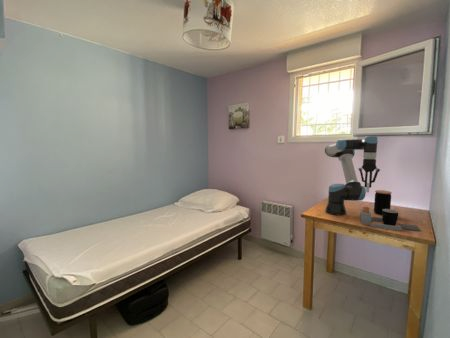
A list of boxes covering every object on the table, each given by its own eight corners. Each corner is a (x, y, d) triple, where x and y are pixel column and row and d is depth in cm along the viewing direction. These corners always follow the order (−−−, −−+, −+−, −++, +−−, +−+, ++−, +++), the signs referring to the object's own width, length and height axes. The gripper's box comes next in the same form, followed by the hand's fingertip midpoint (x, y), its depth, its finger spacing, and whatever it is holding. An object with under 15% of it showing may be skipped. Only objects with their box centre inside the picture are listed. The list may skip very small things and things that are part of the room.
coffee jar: (392, 216, 175) (394, 193, 173) (377, 215, 177) (378, 192, 175) (385, 211, 185) (387, 190, 183) (371, 211, 187) (372, 189, 185)
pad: (401, 229, 149) (401, 228, 149) (398, 224, 158) (398, 223, 158) (421, 231, 144) (421, 230, 144) (416, 226, 153) (416, 225, 153)
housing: (361, 225, 156) (362, 214, 155) (360, 218, 170) (360, 208, 169) (401, 230, 146) (402, 218, 145) (396, 223, 160) (397, 212, 159)
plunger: (362, 214, 160) (363, 207, 160) (362, 213, 164) (362, 206, 163) (369, 215, 158) (370, 208, 158) (369, 213, 162) (369, 207, 161)
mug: (386, 221, 162) (387, 208, 161) (400, 226, 154) (401, 211, 153) (375, 224, 157) (376, 210, 156) (389, 229, 149) (390, 214, 148)
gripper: (359, 158, 156) (357, 192, 159) (381, 159, 150) (379, 193, 153) (358, 158, 163) (356, 190, 165) (380, 158, 157) (377, 191, 159)
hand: (367, 191), depth 159 cm, fingers closed
